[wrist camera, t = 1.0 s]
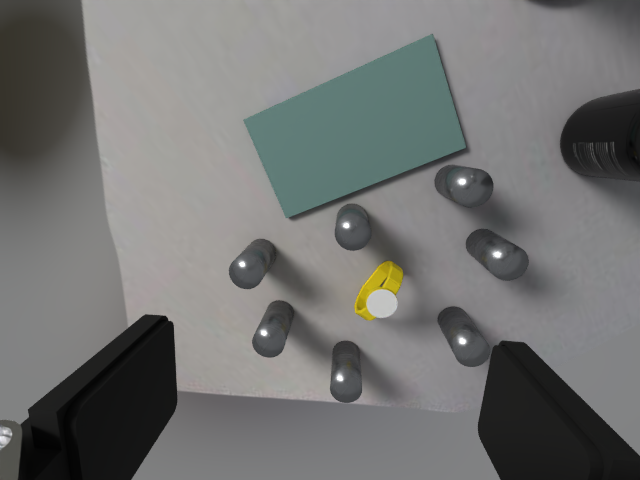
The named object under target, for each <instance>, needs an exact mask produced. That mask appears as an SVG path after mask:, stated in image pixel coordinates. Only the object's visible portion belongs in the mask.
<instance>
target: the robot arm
mask: <svg viewBox="0 0 640 480" xmlns="http://www.w3.org/2000/svg"><path fill="white" fill-rule="evenodd" d="M176 405H177V383H176V363H175V343H174V325H173V322H172V321H168V318H167V317H166V316H161V315H147V314H146V315H144V316H142V317H141V318H140V319H139V320H137V321H136V322H135V323H134V324H133V325H131V326H130V327H129V328H128V329H126V330H125V331H124V332H123V333H122V334H120V335H119V336H118V337H117V338H115V339H114V340H113V341H112V342H111V343H109V344H108V345H107V346H105V347H104V348H103V349H102V350H101V351H99V352H98V353H97V354H96V355H94V356H93V357H92V358H91V359H89V360H88V361H87V362H86V363H85V364H83V365H82V366H81V367H80V368H78V369H77V370H76V371H75V372H74V373H73V374H71V375H70V376H69V377H67V378H66V379H65V380H64V381H62V382H61V383H60V384H59V385H57V386H56V387H55V388H54V389H52V390H51V391H50V392H49V393H48V394H46V395H45V396H44V397H43V398H41V399H40V400H39V401H38V402H36V403H35V404H34V405H33V406H32V407H30V408H29V409H28V413H29V418H28V419H26V420H25V421H24V422H23V423H22V424H21V425H20V424H18V423H17V422H15V421H10V420H0V480H131V479H132V477H133V476H134V474H135V473H136V471H137V470H138V468H139V467H140V465H141V463H142V462H143V460H144V459H145V457H146V456H147V454H148V453H149V451H150V449H151V448H152V446H153V445H154V443H155V442H156V440H157V439H158V437H159V435H160V434H161V432H162V431H163V429H164V428H165V426H166V425H167V423H168V421H169V420H170V418H171V417H172V415H173V413H174V412H175V409H176ZM478 433H479V437H480V440H481V442H482V444H483V446H484V448H485V450H486V452H487V454H488V456H489V457H490V459H491V462H492V464H493V465H494V468H495V469H496V471H497V473H498V475H499V477H500V479H501V480H640V456H639V455H638V454H637V453H636V452H635V451H634V450H633V449H632V448H631V447H630V446H629V445H628V444H627V443H626V442H625V441H624V440H623V439H622V438H621V437H620V436H619V435H618V434H617V433H616V432H615V431H614V430H613V429H612V428H611V427H610V426H609V425H608V424H607V423H606V422H605V421H604V420H603V419H602V418H601V417H600V416H599V415H598V414H597V413H596V412H595V411H594V410H593V409H591V407H590V406H589V405H588V404H587V403H586V402H585V401H584V400H583V399H582V398H581V397H580V396H579V395H577V394H576V393H575V392H574V391H573V390H572V389H571V388H570V387H569V386H568V385H567V384H566V383H565V382H564V381H563V380H562V379H561V378H560V377H559V376H558V375H557V374H556V373H555V372H554V371H553V370H552V369H551V368H550V367H549V366H548V365H547V364H546V363H545V362H544V361H543V360H542V359H541V358H540V357H539V356H538V355H537V354H536V353H535V352H534V351H533V350H532V349H531V348H530V347H529V346H528V345H527V344H525V343H524V342H512V341H501V342H500V343H499V345H498V346H497V345H495V346H494V347H493V350H492V354H491V359H490V365H489V370H488V375H487V380H486V385H485V391H484V396H483V401H482V406H481V411H480V417H479V422H478Z"/></svg>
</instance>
